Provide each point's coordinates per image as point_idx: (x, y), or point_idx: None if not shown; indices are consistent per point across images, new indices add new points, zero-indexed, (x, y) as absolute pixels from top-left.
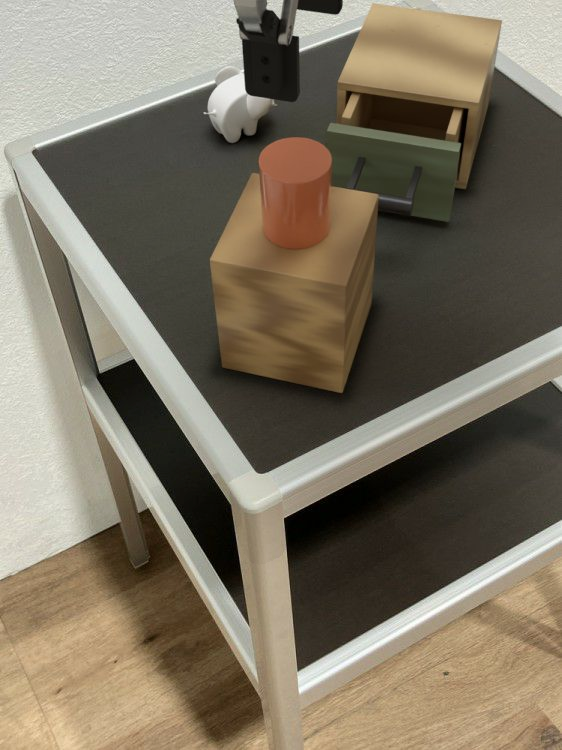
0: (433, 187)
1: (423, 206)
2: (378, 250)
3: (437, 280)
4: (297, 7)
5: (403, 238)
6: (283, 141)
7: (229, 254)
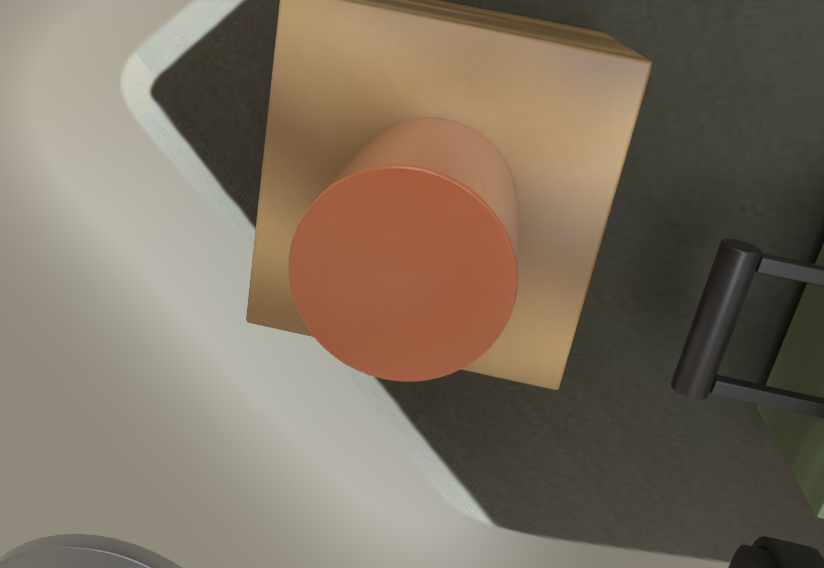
0: (796, 417)
1: (783, 375)
2: (697, 272)
3: (609, 373)
4: (737, 560)
5: None
6: (490, 238)
7: (307, 41)
